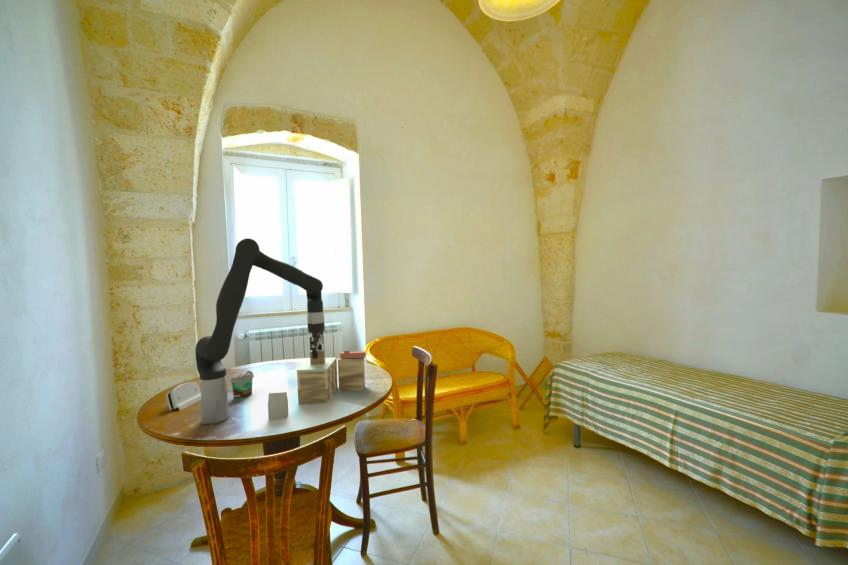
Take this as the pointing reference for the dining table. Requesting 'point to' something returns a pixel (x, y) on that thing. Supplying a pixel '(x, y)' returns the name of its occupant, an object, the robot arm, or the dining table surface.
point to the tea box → (277, 406)
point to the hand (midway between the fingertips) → (317, 356)
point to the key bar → (352, 354)
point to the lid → (317, 363)
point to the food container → (242, 385)
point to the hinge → (183, 395)
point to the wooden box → (331, 381)
